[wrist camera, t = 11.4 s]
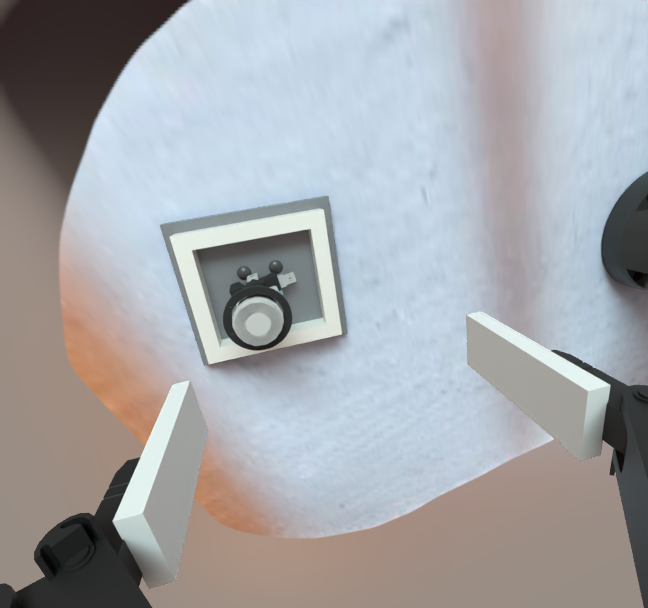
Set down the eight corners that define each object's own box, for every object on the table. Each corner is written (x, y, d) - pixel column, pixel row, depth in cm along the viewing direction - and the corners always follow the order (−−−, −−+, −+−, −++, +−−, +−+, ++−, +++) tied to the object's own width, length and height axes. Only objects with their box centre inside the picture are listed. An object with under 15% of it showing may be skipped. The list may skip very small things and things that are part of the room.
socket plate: (326, 195, 35) (332, 196, 32) (345, 329, 40) (352, 340, 37) (162, 223, 33) (154, 227, 30) (205, 361, 38) (201, 375, 35)
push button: (285, 250, 35) (297, 274, 25) (302, 297, 37) (318, 336, 27) (221, 272, 34) (209, 305, 25) (241, 319, 36) (237, 365, 27)
